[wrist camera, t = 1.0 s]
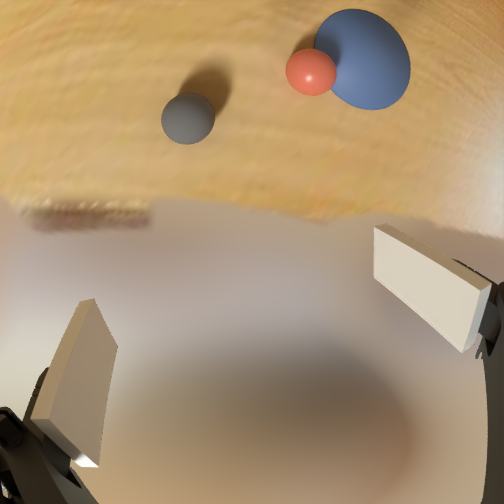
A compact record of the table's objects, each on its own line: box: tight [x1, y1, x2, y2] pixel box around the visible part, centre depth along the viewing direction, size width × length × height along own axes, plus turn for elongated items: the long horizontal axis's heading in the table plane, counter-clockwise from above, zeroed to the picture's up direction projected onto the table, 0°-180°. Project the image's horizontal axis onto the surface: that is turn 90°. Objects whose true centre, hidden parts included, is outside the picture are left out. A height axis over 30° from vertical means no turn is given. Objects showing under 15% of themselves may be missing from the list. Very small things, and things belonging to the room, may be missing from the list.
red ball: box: [286, 48, 337, 96], centre depth 27 cm, size 6×6×6 cm
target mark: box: [314, 9, 411, 110], centre depth 28 cm, size 14×14×1 cm
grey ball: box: [161, 93, 215, 144], centre depth 28 cm, size 6×6×6 cm
